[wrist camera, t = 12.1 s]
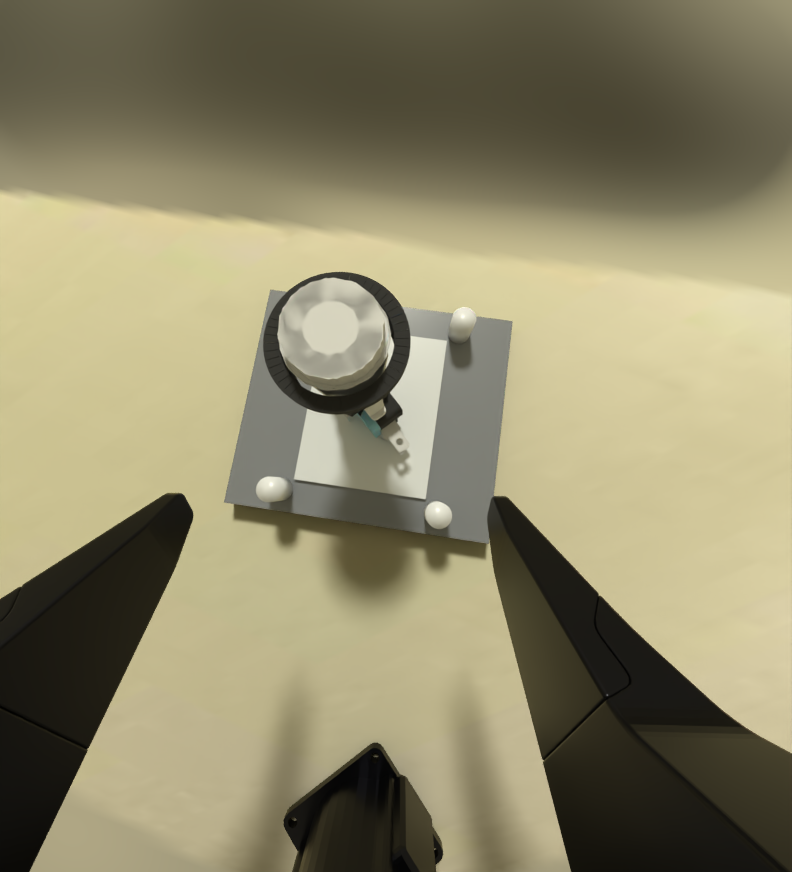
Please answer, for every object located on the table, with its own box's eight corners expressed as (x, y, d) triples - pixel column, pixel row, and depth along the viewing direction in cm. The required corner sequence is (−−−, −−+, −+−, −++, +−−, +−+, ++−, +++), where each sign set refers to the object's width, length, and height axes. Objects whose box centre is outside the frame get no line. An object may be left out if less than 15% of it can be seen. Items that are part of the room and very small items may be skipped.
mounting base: (483, 540, 21) (497, 549, 18) (233, 501, 22) (205, 504, 19) (506, 329, 23) (523, 304, 20) (276, 299, 24) (257, 270, 21)
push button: (438, 425, 21) (469, 371, 11) (368, 479, 20) (336, 473, 11) (372, 344, 22) (347, 225, 12) (304, 394, 21) (220, 314, 11)
